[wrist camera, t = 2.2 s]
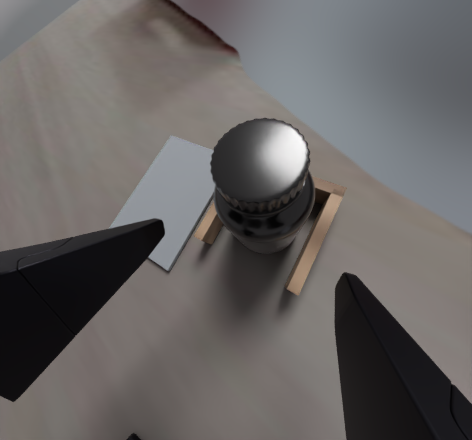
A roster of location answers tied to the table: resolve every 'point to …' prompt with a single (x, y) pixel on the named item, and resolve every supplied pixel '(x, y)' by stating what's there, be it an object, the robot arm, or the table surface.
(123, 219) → the slate mat
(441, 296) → the table surface
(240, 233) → the supplement bottle
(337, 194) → the tan wooden bay
